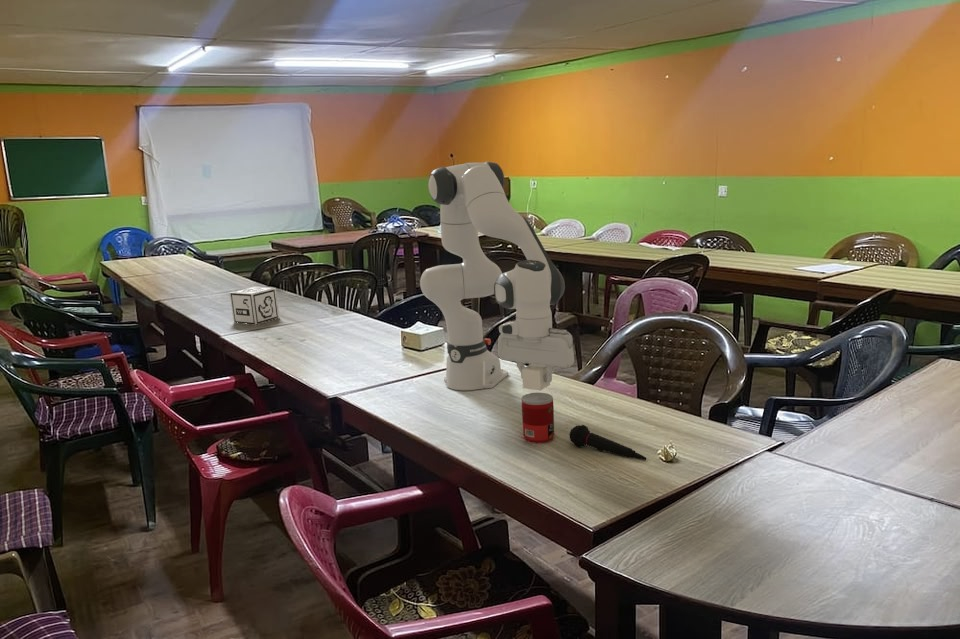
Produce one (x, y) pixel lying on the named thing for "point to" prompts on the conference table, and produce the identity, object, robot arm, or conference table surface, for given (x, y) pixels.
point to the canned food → (538, 417)
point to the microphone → (600, 443)
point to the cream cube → (534, 377)
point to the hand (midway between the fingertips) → (536, 380)
